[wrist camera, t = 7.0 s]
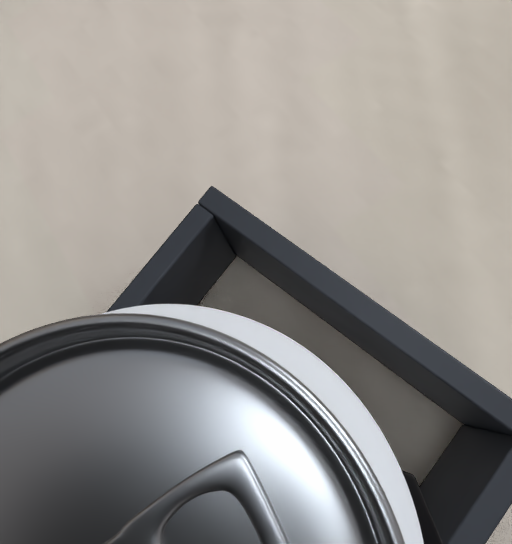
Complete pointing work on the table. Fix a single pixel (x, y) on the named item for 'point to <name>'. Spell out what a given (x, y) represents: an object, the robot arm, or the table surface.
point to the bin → (366, 334)
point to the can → (188, 437)
